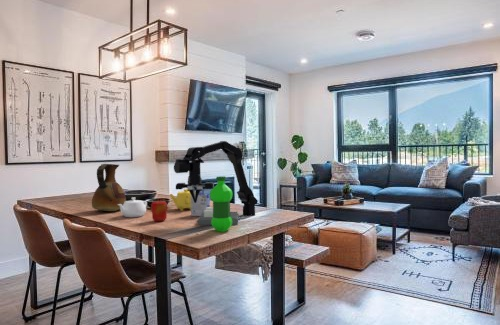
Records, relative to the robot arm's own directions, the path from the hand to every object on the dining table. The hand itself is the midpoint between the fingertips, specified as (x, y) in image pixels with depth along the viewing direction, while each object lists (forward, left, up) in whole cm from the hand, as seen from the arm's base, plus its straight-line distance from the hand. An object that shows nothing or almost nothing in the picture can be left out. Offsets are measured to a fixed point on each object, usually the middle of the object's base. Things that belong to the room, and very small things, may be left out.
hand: (195, 202), depth 179 cm
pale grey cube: (-6, 0, -8) cm, 10 cm away
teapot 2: (+13, -43, -11) cm, 47 cm away
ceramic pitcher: (+61, -42, -11) cm, 75 cm away
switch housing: (-11, -4, -11) cm, 16 cm away
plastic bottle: (-14, +16, -11) cm, 24 cm away
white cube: (-6, -9, -8) cm, 14 cm away
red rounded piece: (+21, -8, -11) cm, 25 cm away
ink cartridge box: (+1, -22, -11) cm, 25 cm away
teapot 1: (+40, -23, -11) cm, 47 cm away
